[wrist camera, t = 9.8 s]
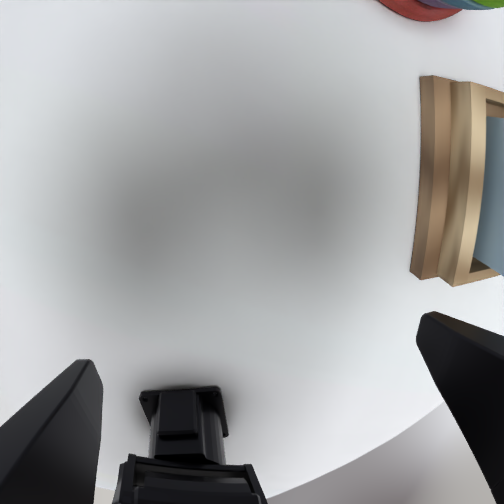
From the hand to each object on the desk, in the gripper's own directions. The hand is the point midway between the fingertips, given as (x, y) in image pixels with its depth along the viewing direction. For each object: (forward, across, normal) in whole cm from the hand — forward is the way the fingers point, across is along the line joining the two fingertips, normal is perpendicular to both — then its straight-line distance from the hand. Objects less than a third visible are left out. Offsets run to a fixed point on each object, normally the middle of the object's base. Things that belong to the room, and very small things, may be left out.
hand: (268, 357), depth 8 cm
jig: (+12, -19, -2) cm, 23 cm away
